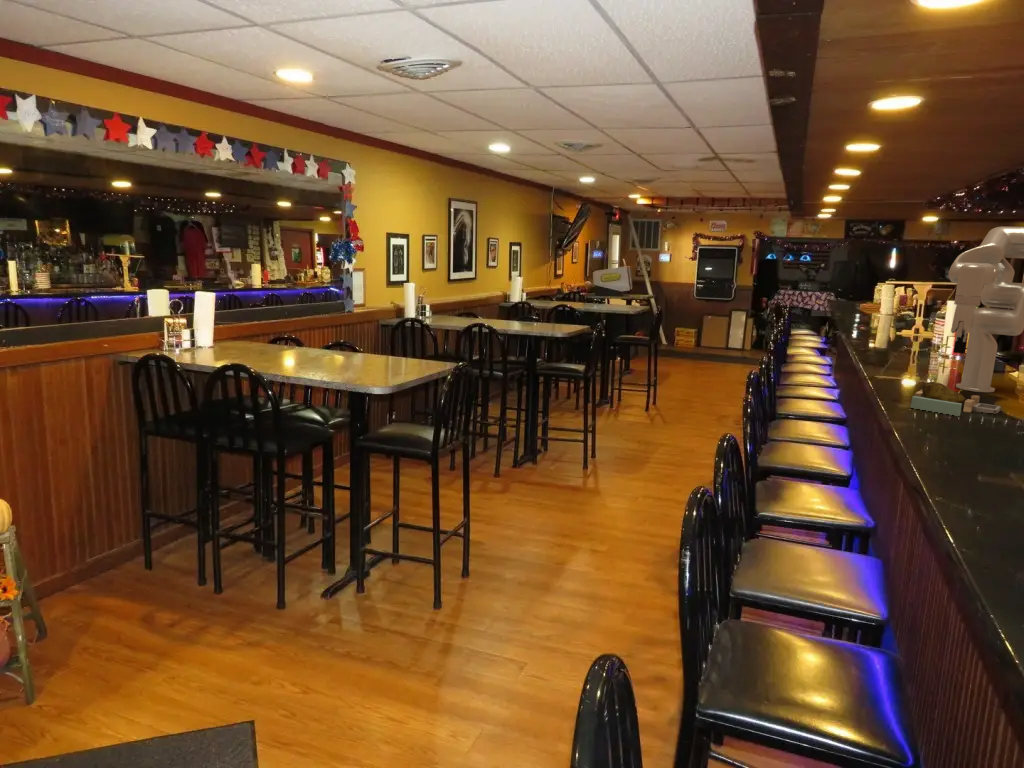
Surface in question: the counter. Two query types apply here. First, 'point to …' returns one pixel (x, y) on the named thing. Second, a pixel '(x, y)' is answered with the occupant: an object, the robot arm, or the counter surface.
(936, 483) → the counter surface
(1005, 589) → the counter surface
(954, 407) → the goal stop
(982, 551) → the counter surface
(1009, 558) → the counter surface
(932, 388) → the potato
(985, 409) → the grey tray
